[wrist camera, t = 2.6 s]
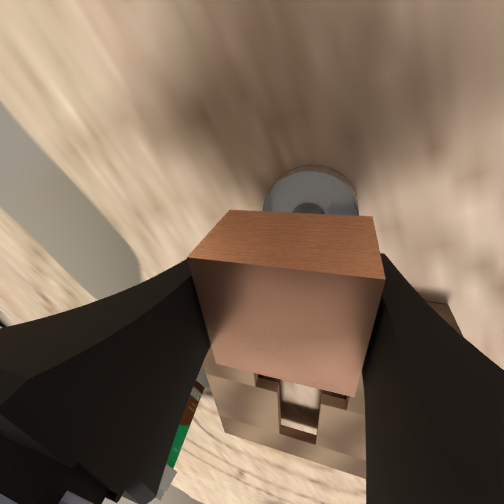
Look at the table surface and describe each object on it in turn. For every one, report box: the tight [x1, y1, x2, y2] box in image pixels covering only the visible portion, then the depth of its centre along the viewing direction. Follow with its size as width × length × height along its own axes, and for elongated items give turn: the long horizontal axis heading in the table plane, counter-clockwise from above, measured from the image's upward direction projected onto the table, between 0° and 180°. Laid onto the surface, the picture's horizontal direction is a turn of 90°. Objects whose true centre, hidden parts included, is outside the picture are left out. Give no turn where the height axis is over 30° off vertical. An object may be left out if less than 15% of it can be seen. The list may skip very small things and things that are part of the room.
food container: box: [156, 381, 204, 500], centre depth 27 cm, size 12×6×10 cm, turn 124°
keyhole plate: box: [203, 302, 463, 479], centre depth 21 cm, size 16×20×3 cm
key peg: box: [187, 165, 386, 397], centre depth 10 cm, size 5×5×8 cm
